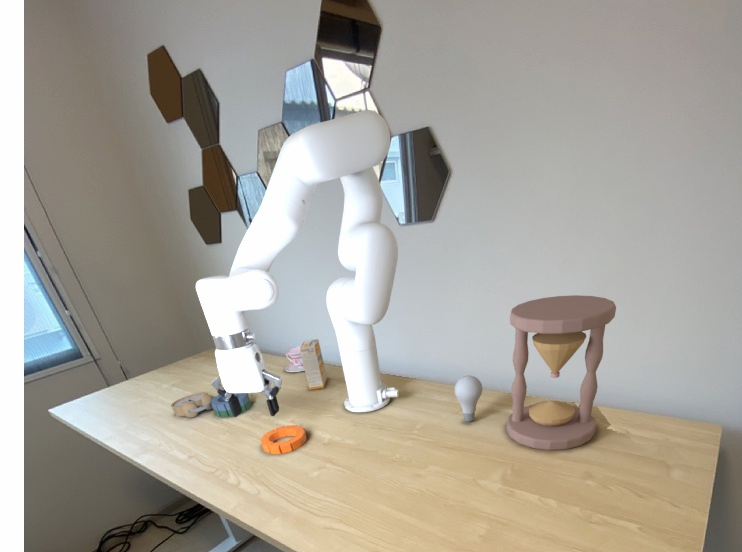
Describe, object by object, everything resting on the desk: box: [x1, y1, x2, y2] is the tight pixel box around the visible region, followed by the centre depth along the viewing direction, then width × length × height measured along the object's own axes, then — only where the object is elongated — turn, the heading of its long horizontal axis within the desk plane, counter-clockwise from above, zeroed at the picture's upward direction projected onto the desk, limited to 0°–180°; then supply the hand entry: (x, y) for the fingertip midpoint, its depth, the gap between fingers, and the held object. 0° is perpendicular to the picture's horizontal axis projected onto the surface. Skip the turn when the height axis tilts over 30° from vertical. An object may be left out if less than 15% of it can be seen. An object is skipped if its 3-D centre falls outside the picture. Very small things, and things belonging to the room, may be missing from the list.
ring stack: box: [211, 393, 252, 418], centre depth 122 cm, size 11×11×4 cm
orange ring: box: [260, 424, 307, 455], centre depth 100 cm, size 11×11×2 cm
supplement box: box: [300, 338, 328, 390], centre depth 127 cm, size 8×5×13 cm, turn 179°
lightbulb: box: [454, 375, 483, 423], centre depth 93 cm, size 6×6×11 cm
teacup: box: [284, 345, 305, 373], centre depth 146 cm, size 12×12×6 cm
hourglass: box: [506, 294, 617, 451], centre depth 81 cm, size 18×18×25 cm
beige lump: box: [170, 392, 214, 419], centre depth 125 cm, size 11×5×15 cm
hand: (256, 414), depth 96 cm, fingers open, 9 cm apart
